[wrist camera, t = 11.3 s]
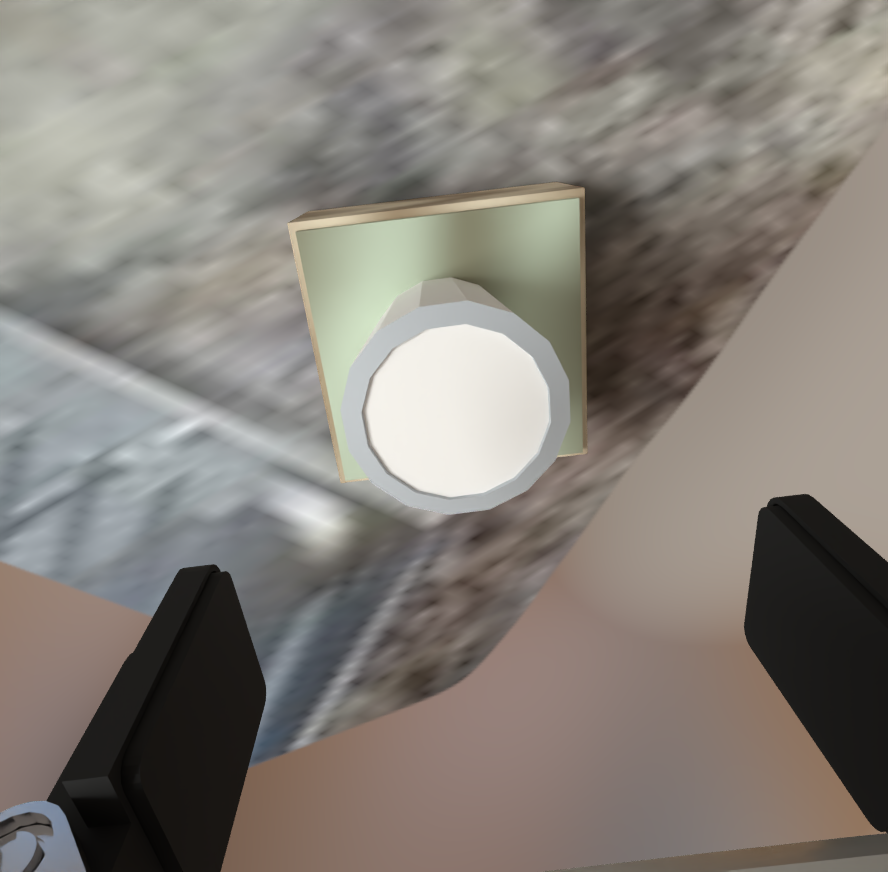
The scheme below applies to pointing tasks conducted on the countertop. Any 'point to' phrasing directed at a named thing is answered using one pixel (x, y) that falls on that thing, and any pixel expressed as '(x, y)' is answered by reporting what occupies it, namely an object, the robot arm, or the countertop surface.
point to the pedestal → (442, 256)
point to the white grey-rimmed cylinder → (454, 400)
